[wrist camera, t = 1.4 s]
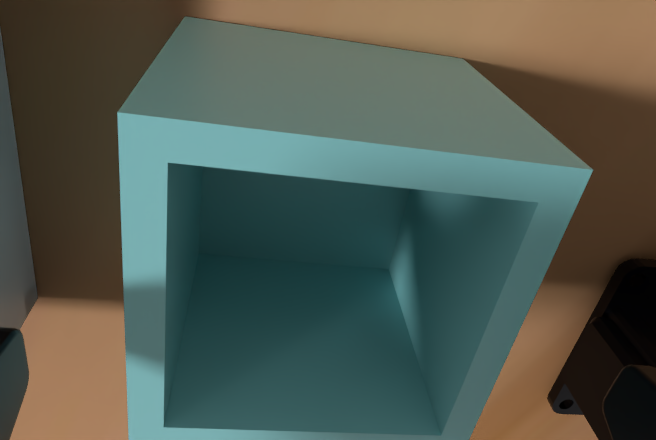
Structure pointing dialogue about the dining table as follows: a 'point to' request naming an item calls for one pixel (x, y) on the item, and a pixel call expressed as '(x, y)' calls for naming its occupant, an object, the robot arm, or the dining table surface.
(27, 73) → the dining table surface
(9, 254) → the big crate
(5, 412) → the robot arm
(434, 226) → the small crate
